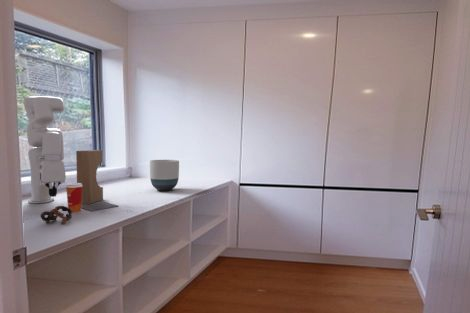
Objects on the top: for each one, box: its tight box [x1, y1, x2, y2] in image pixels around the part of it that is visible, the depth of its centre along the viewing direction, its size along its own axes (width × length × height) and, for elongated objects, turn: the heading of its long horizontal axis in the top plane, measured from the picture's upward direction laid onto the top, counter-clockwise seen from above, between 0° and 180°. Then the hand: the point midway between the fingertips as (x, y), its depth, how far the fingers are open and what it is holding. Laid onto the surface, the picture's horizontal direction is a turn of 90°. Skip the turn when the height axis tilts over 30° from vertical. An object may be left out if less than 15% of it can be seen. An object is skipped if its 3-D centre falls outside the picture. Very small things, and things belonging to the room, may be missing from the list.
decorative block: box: [75, 149, 104, 206], centre depth 173 cm, size 15×8×30 cm, turn 176°
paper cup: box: [65, 182, 83, 213], centre depth 152 cm, size 8×8×14 cm
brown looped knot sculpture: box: [40, 205, 73, 225], centre depth 130 cm, size 12×10×8 cm
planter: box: [149, 159, 180, 192], centre depth 215 cm, size 20×20×21 cm
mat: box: [81, 201, 119, 212], centre depth 162 cm, size 14×15×1 cm
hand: (52, 196), depth 144 cm, fingers closed
